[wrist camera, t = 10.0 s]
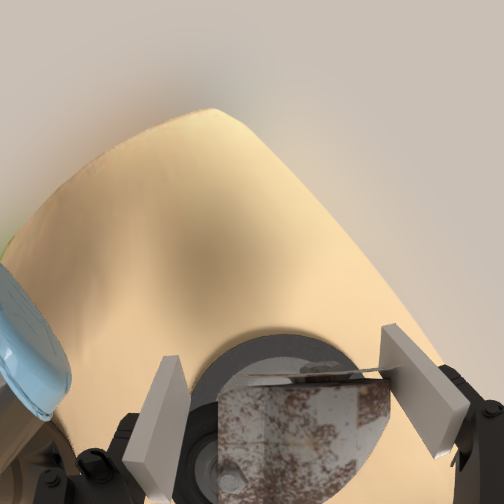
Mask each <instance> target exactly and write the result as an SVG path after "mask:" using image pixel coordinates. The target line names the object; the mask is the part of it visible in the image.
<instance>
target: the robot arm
mask: <svg viewBox="0 0 504 504" xmlns="http://www.w3.org/2000/svg"><path fill="white" fill-rule="evenodd" d="M397 365H401V366H403V367H401V368H397V369H389V370H381V371H378V372H379V373H380V375H381V376H382V378H383V379H389V380H390V390H391V392H392V393H393V395H394V396H395V398H396V399H397V401H398V402H399V404H400V406H401V407H402V409H403V410H404V412H405V413H406V415H407V417H408V418H409V420H410V421H411V423H412V424H413V426H414V428H415V429H416V431H417V432H418V434H419V436H420V437H421V439H422V441H423V442H424V444H425V445H426V447H427V449H428V450H429V452H430V454H431V455H432V457H433V458H434V459H436V458H439V457H441V456H443V455H445V454H447V453H450V451H451V449H452V447H453V445H454V443H455V444H456V446H457V447H458V450H457V452H456V454H455V456H454V458H453V460H452V462H451V466H450V467H453V465H454V463H455V461H456V469H455V488H454V500H453V504H504V406H503V405H502V404H501V403H500V402H497V401H495V400H486V401H485V400H484V399H483V398H482V397H481V396H480V395H479V394H478V393H477V392H476V391H475V390H474V389H473V388H472V386H470V384H469V383H468V382H466V380H465V379H464V378H463V377H461V375H460V374H459V373H458V372H457V371H456V370H455V369H453V368H451V367H449V366H447V365H442V366H439V367H437V366H436V365H435V364H434V363H433V362H432V361H431V360H430V358H429V357H428V356H427V355H426V354H425V353H424V352H423V351H422V350H421V349H420V348H419V347H418V346H417V345H416V344H415V343H414V342H413V341H412V340H411V339H410V338H409V337H408V336H407V335H406V334H405V333H404V332H403V331H402V330H401V329H400V328H399V327H398V326H397V325H396V324H395V323H394V324H390V325H385V326H382V329H381V345H380V357H379V368H381V367H389V366H397ZM71 381H72V374H71V368H70V364H69V361H68V359H67V356H66V354H65V352H64V350H63V348H62V346H61V344H60V343H59V341H58V339H57V337H56V336H55V334H54V333H53V331H52V329H51V328H50V326H49V325H48V323H47V322H46V320H45V319H44V317H43V316H42V314H41V313H40V311H39V310H38V309H37V307H36V306H35V304H34V303H33V302H32V300H31V299H30V298H29V296H28V295H27V294H26V292H25V291H24V290H23V288H22V287H21V286H20V285H19V283H18V282H17V281H16V280H15V278H14V277H13V276H12V275H11V274H10V273H9V271H8V270H7V269H6V268H5V267H4V266H3V265H2V264H1V263H0V504H144V500H145V496H147V497H148V499H149V500H150V501H151V502H156V503H167V504H171V498H172V493H173V488H174V482H175V477H176V472H177V467H178V462H179V457H180V451H181V446H182V442H183V437H184V432H185V427H186V422H187V417H188V412H189V408H190V403H191V396H190V393H189V389H188V386H187V383H186V380H185V376H184V373H183V369H182V366H181V362H180V359H179V355H176V356H163V358H162V361H161V363H160V366H159V368H158V370H157V373H156V375H155V378H154V380H153V382H152V385H151V387H150V390H149V392H148V395H147V397H146V400H145V402H144V405H143V407H142V410H141V412H140V413H128V414H127V415H126V416H125V417H124V418H123V419H122V420H121V421H120V423H119V425H118V428H117V431H116V432H115V434H114V438H113V439H112V441H111V443H110V446H109V448H108V450H107V452H106V451H104V450H103V449H99V448H90V449H87V450H85V451H83V452H82V453H80V454H79V455H78V457H77V458H76V459H75V456H74V453H73V451H72V449H71V447H70V445H69V443H68V441H67V440H66V438H65V437H64V435H63V434H62V432H61V431H60V430H59V429H58V427H57V426H56V425H55V424H54V423H53V422H51V421H50V419H52V417H53V411H54V410H55V409H56V407H57V406H58V405H59V403H60V402H61V401H62V399H63V398H64V397H65V395H66V394H67V393H68V391H69V389H70V386H71ZM79 471H80V473H81V474H82V475H79Z"/></svg>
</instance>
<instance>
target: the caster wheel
mask: <svg viewBox="0 0 504 504" xmlns="http://www.w3.org/2000/svg"><path fill="white" fill-rule="evenodd" d="M401 367H403V366H401V365H397V366H389V367H381V368H372V369H362V370H352V371H344V367H343V366H342V365H340V364H339V363H337V362H336V361H326V362H311V363H307V364H305V365H304V366H303V367H302V368H300V374H235V375H232V376H235V377H285V378H289V379H290V381H291V382H292V383H289V384H278V385H257V386H237V387H232V388H228V389H226V390H224V391H223V392H222V393H221V394H220V395H219V397H218V401H215V402H212V403H208V404H205V405H202V406H200V407H197V408H196V409H194V410H192V411H191V412H189V413H188V417H187V422H186V427H185V432H184V437H183V442H182V446H181V451H180V457H179V462H178V467H177V472H176V477H175V482H174V488H173V493H172V499H173V500H174V502H175V503H176V504H322V503H323V502H325V501H327V500H328V499H330V498H331V497H332V496H334V495H335V494H336V493H337V492H338V491H340V490H341V489H342V488H343V487H344V486H345V485H346V484H347V483H348V482H349V481H350V480H351V479H352V478H353V477H354V476H355V474H356V473H357V472H358V471H359V469H360V468H361V467H362V466H363V464H364V463H365V462H366V460H367V459H368V457H369V456H370V454H371V453H372V451H373V449H374V448H375V446H376V444H377V443H378V441H379V439H380V437H381V435H382V433H383V431H384V429H385V427H386V425H387V423H388V421H389V419H390V380H389V379H372V378H360V379H349V378H350V377H351V375H352V374H355V373H362V372H372V371H381V370H389V369H397V368H401Z"/></svg>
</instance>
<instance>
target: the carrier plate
mask: <svg viewBox="0 0 504 504" xmlns="http://www.w3.org/2000/svg"><path fill="white" fill-rule="evenodd" d="M326 361H336V362H337V363H339V364H340V365H342V366H343V367H344V371H352V370H359V369H358V368H357V366H356V365H355V364H354V363H353V362H352V361H351V360H350V359H349V358H348V357H346V356H345V355H344V354H343V353H342V352H340V351H338V350H337V349H335V348H334V347H332V346H330V345H328V344H326V343H324V342H322V341H319V340H316V339H313V338H310V337H305V336H300V335H289V334H281V335H270V336H263V337H259V338H256V339H252V340H249V341H247V342H244V343H242V344H239V345H238V346H236V347H234V348H232V349H230V350H229V351H227V352H226V353H225V354H223V355H222V356H220V357H219V358H218V359H217V360H216V361H215V362H214V363H213V364H212V365H211V366H210V367H209V368H208V369H207V370H206V372H205V373H204V374H203V376H202V377H201V379H200V380H199V382H198V383H197V385H196V387H195V390H194V392H193V394H192V397H191V403H190V408H189V412H191V411H192V410H194V409H196V408H197V407H200V406H202V405H205V404H208V403H212V402H215V401H218V397H219V395H220V394H221V393H222V392H223V391H224V390H226V389H228V388H232V387H237V386H257V385H278V384H289V383H292V382H291V381H290V379H289V378H285V377H235V376H232V375H235V374H300V368H302V367H303V366H304V365H305V364H307V363H311V362H326ZM360 378H365V377H364V376H363V374H362V373H355V374H352V375H351V377H350V378H349V379H360ZM189 412H188V413H189ZM355 475H356V474H355Z"/></svg>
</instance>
